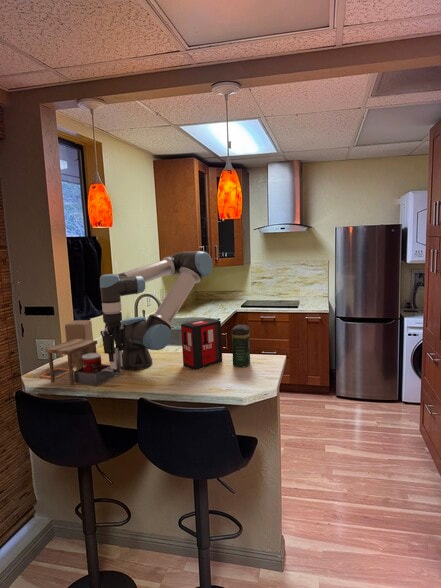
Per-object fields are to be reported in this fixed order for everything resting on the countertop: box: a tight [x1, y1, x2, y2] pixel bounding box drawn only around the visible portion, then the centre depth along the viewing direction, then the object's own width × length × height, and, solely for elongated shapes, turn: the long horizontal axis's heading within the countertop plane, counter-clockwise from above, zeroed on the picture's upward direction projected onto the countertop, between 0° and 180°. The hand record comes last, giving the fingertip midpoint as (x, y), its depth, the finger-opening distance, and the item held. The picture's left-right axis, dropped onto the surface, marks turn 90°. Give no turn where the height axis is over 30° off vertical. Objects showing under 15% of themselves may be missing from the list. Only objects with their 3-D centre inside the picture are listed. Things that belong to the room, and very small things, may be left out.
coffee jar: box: [231, 324, 251, 369], centre depth 183 cm, size 10×8×19 cm
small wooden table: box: [45, 339, 98, 386], centre depth 176 cm, size 13×17×15 cm
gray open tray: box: [73, 346, 123, 387], centre depth 170 cm, size 20×12×15 cm, turn 67°
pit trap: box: [38, 367, 75, 381], centre depth 182 cm, size 10×11×1 cm
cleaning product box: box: [180, 317, 223, 371], centre depth 186 cm, size 16×9×20 cm, turn 131°
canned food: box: [82, 352, 103, 373], centre depth 172 cm, size 8×8×11 cm
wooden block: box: [64, 319, 94, 364], centre depth 199 cm, size 10×10×20 cm
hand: (116, 367), depth 166 cm, fingers closed on gray open tray, 3 cm apart
